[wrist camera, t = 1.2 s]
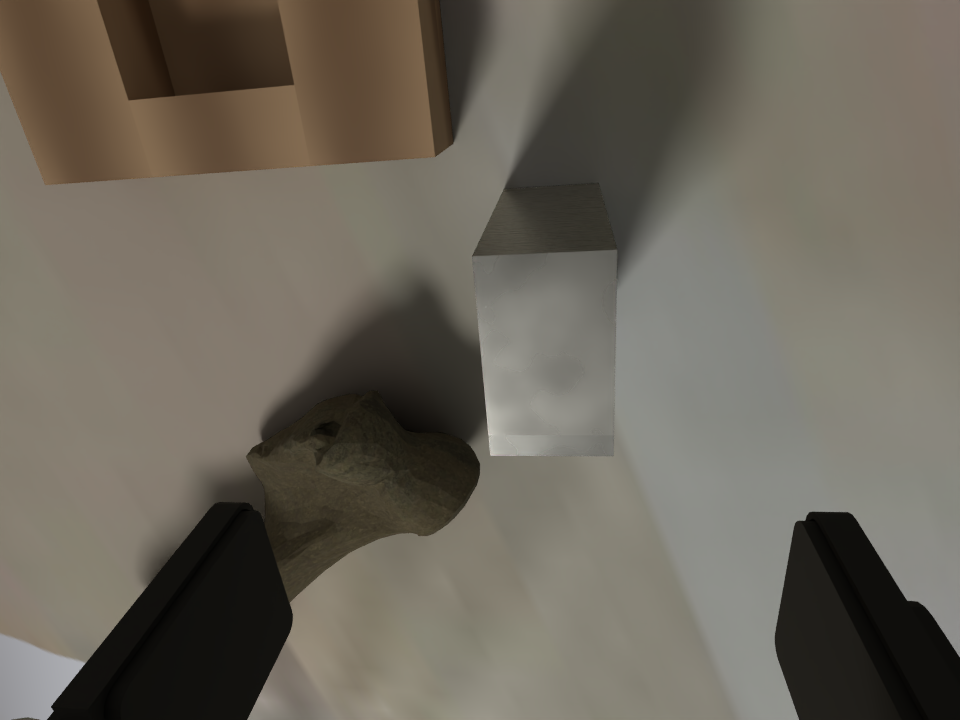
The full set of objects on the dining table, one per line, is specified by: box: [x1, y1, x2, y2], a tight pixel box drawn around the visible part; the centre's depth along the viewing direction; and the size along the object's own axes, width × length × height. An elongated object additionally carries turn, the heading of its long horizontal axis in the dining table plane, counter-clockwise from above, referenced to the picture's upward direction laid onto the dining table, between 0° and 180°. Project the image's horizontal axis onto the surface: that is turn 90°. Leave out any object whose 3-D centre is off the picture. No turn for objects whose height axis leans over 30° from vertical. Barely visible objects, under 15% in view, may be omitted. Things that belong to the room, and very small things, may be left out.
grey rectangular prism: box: [472, 183, 617, 456], centre depth 22 cm, size 4×7×10 cm, turn 5°
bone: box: [246, 391, 480, 603], centre depth 34 cm, size 10×10×30 cm
